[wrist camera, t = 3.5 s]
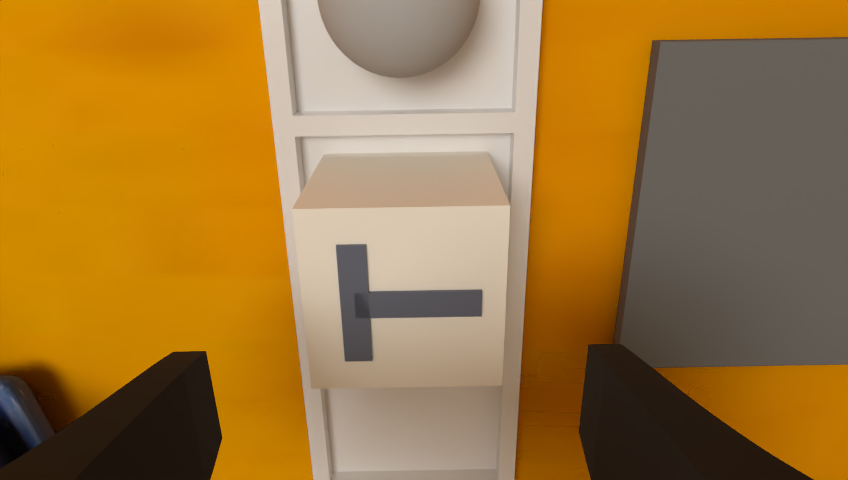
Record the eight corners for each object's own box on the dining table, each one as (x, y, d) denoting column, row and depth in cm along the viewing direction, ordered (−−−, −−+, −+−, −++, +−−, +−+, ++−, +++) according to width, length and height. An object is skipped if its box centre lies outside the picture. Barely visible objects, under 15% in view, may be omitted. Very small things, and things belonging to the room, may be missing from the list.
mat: (913, 353, 21) (926, 363, 21) (611, 358, 21) (616, 368, 21) (1029, 34, 17) (1050, 35, 17) (652, 40, 17) (660, 41, 17)
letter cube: (483, 294, 20) (502, 387, 15) (336, 297, 20) (310, 391, 15) (487, 150, 18) (511, 206, 13) (324, 153, 18) (291, 210, 13)
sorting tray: (509, 474, 24) (513, 494, 23) (319, 477, 24) (315, 497, 23) (545, -170, 15) (553, -180, 14) (249, -165, 15) (238, -175, 14)
